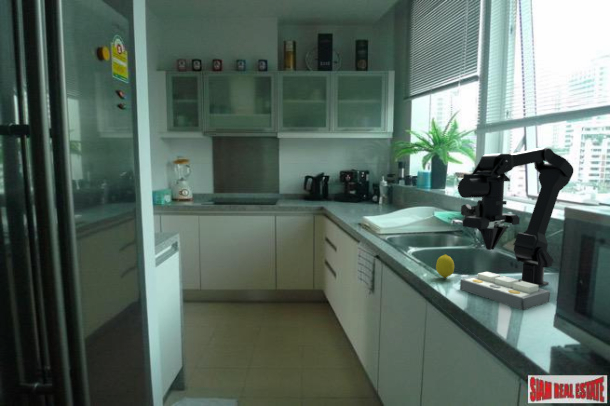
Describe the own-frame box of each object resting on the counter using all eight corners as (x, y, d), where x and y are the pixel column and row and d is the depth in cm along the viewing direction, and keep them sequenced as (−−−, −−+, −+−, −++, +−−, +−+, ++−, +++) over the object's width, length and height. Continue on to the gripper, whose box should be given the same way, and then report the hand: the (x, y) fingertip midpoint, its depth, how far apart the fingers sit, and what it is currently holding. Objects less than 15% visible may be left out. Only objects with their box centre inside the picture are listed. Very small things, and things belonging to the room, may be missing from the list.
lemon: (449, 275, 126) (450, 252, 125) (456, 280, 121) (457, 256, 120) (433, 276, 126) (433, 252, 125) (439, 281, 121) (440, 256, 120)
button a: (486, 279, 115) (487, 271, 115) (500, 283, 111) (500, 275, 111) (477, 281, 113) (477, 273, 113) (490, 285, 109) (490, 277, 109)
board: (485, 283, 118) (486, 273, 118) (549, 302, 101) (550, 290, 101) (460, 289, 112) (460, 278, 112) (522, 310, 96) (523, 297, 95)
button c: (522, 289, 106) (522, 280, 105) (538, 294, 102) (538, 285, 102) (512, 292, 103) (512, 283, 103) (528, 296, 100) (528, 287, 99)
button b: (503, 284, 110) (503, 276, 110) (518, 288, 107) (518, 279, 106) (494, 286, 108) (494, 278, 108) (508, 291, 104) (509, 282, 104)
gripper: (487, 194, 121) (485, 242, 123) (447, 196, 112) (446, 247, 114) (521, 196, 112) (519, 248, 113) (481, 199, 103) (478, 255, 104)
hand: (490, 249), depth 111 cm, fingers closed
